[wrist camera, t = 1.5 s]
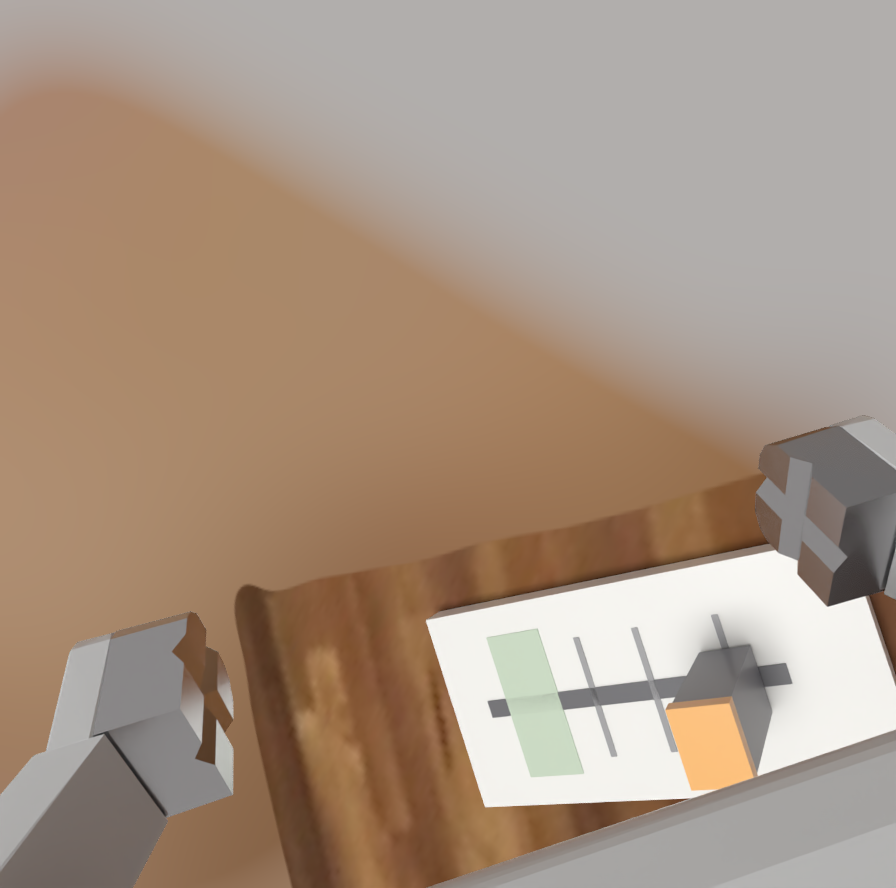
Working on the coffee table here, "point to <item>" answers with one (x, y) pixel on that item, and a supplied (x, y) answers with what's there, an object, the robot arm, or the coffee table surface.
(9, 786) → the robot arm
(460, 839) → the coffee table surface
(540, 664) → the console
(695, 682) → the fader knob
